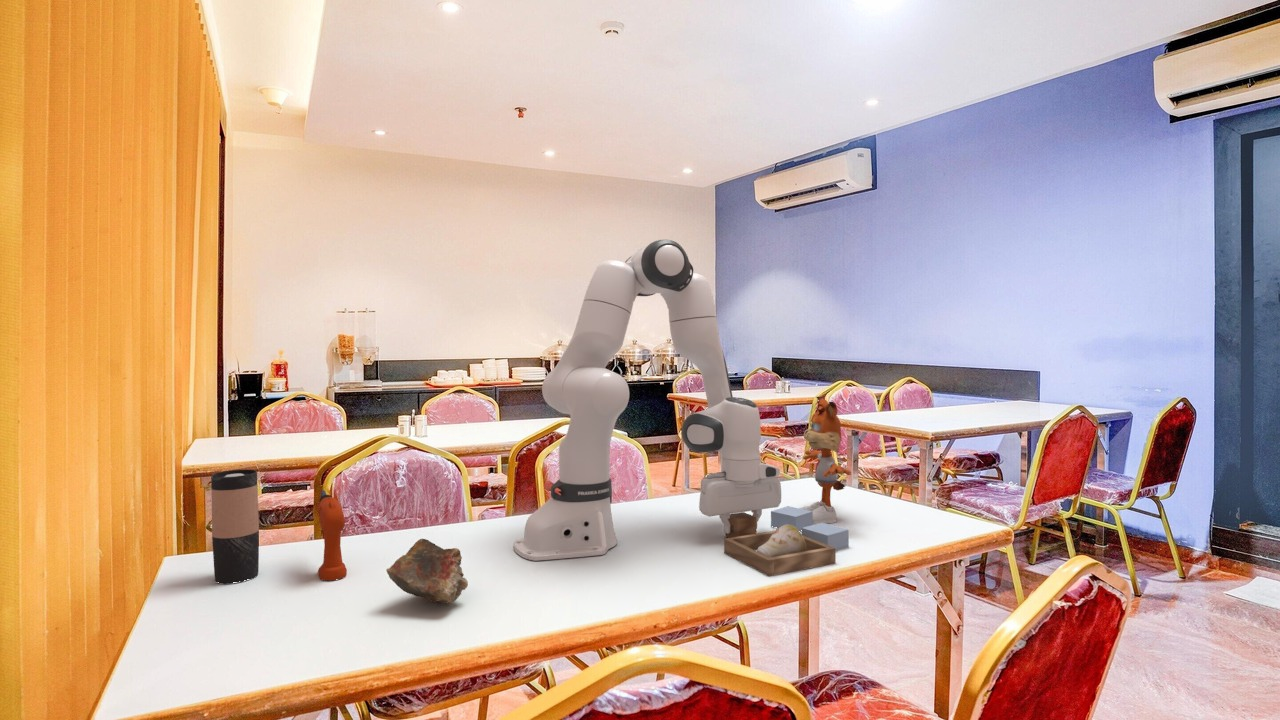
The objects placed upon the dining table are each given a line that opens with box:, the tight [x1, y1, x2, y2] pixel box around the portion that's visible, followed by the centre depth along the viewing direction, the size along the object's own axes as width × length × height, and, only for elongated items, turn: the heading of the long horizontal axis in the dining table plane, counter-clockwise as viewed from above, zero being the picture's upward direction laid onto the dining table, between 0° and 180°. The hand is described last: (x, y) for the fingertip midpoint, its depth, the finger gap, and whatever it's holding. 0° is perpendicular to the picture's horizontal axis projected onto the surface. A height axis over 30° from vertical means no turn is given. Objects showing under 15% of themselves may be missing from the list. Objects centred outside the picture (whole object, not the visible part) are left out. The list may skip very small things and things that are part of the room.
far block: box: [770, 505, 814, 532], centre depth 160 cm, size 7×7×4 cm
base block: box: [801, 523, 850, 552], centre depth 146 cm, size 7×7×4 cm
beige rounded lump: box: [756, 525, 807, 558], centre depth 136 cm, size 8×10×10 cm
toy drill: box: [317, 489, 348, 581], centre depth 133 cm, size 5×19×15 cm, turn 32°
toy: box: [798, 396, 852, 525], centre depth 167 cm, size 30×11×30 cm, turn 178°
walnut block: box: [724, 512, 757, 538], centre depth 152 cm, size 5×5×5 cm
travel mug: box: [210, 468, 260, 584], centre depth 127 cm, size 8×8×20 cm
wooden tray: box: [723, 530, 837, 577], centre depth 138 cm, size 16×15×3 cm
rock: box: [386, 538, 469, 604], centre depth 115 cm, size 12×12×10 cm
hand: (740, 530), depth 152 cm, fingers closed on walnut block, 5 cm apart
